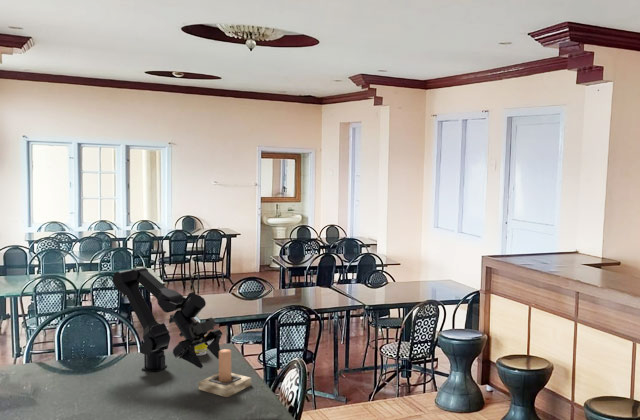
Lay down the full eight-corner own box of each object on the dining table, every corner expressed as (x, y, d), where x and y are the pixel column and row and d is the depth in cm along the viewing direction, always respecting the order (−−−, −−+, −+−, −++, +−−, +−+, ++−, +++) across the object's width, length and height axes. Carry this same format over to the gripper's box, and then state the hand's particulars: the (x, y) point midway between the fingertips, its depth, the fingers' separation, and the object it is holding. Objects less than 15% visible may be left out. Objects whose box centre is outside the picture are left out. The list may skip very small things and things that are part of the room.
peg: (218, 389, 185) (217, 353, 184) (219, 385, 189) (219, 349, 188) (230, 389, 185) (230, 353, 184) (231, 384, 189) (231, 349, 188)
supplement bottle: (209, 354, 221) (209, 327, 220) (196, 357, 217) (196, 330, 217) (202, 350, 225) (202, 324, 224) (189, 353, 222) (189, 327, 221)
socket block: (198, 389, 185) (198, 381, 185) (223, 378, 195) (223, 370, 195) (227, 397, 179) (227, 388, 179) (251, 385, 189) (251, 376, 189)
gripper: (179, 317, 183) (204, 357, 178) (218, 305, 199) (243, 342, 194) (161, 337, 188) (186, 377, 183) (201, 324, 204) (225, 360, 199)
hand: (211, 363), depth 190 cm, fingers open, 9 cm apart
